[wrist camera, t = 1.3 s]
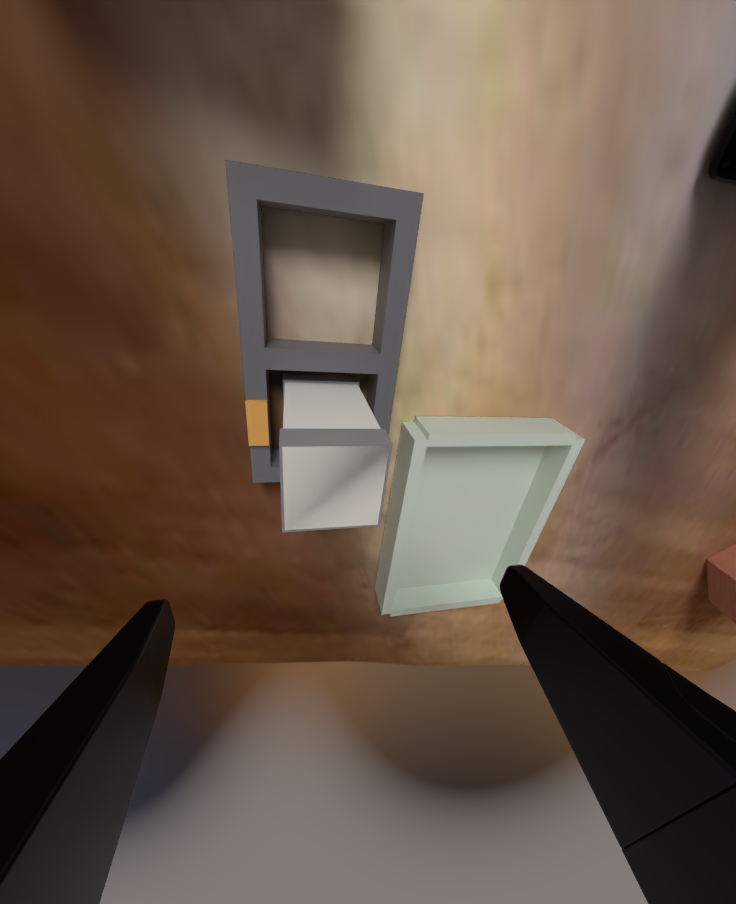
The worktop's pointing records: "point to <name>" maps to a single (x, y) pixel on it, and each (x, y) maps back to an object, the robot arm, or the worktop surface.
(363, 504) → the block
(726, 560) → the house
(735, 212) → the worktop surface
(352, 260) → the worktop surface
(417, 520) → the parts tray
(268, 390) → the socket frame
